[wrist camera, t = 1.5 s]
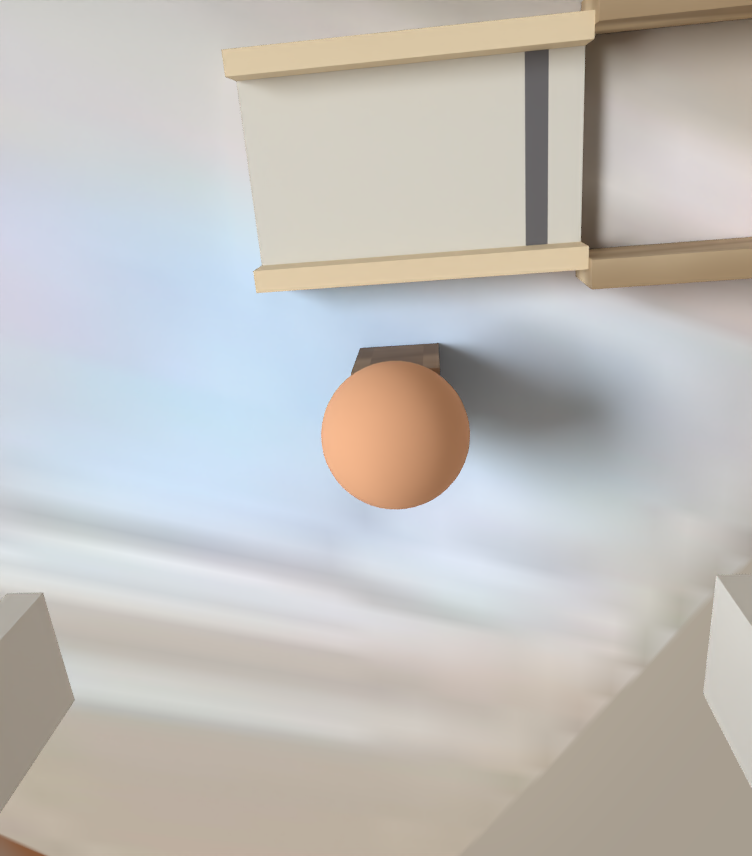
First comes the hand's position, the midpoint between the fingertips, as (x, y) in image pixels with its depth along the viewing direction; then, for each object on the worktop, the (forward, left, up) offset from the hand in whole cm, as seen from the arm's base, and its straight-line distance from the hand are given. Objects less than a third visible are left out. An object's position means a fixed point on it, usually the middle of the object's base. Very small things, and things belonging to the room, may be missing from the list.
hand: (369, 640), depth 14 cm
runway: (-9, +1, -16) cm, 19 cm away
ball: (0, 0, -11) cm, 11 cm away
